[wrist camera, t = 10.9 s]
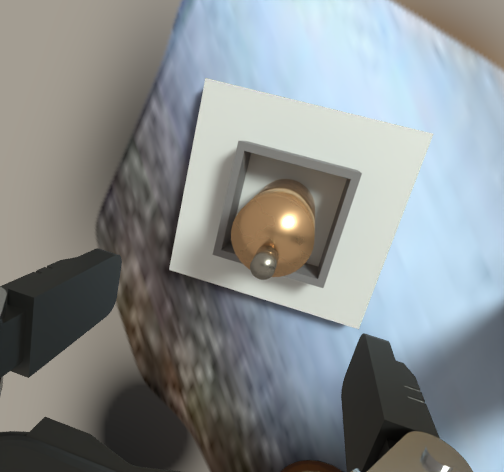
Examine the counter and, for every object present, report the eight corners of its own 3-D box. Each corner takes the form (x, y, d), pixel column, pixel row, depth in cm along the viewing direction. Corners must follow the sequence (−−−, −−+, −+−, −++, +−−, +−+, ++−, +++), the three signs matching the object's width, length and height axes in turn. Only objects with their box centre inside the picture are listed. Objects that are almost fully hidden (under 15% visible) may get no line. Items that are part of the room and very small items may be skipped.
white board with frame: (425, 134, 28) (447, 132, 23) (356, 318, 33) (362, 347, 28) (212, 82, 30) (192, 70, 25) (177, 262, 35) (154, 281, 30)
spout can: (322, 187, 28) (325, 215, 18) (306, 244, 30) (300, 300, 20) (262, 172, 29) (232, 192, 19) (249, 229, 31) (215, 276, 20)
